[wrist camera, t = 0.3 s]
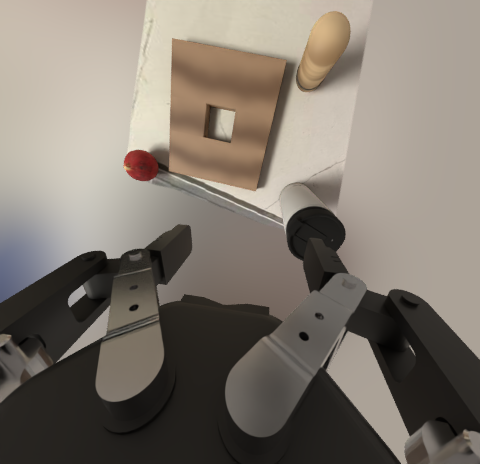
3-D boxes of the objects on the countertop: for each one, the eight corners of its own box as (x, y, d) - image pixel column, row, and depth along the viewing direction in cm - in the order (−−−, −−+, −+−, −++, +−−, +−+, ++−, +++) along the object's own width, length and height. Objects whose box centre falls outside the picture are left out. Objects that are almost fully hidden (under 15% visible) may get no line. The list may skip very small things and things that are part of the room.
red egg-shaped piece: (165, 152, 38) (140, 153, 31) (165, 180, 40) (142, 187, 33) (139, 147, 38) (108, 147, 31) (141, 175, 41) (113, 181, 33)
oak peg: (299, 60, 29) (316, 6, 18) (325, 65, 28) (358, 14, 18) (291, 92, 31) (302, 61, 20) (315, 97, 30) (340, 68, 19)
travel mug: (290, 175, 36) (310, 200, 18) (317, 193, 36) (363, 235, 18) (272, 201, 38) (273, 246, 20) (297, 217, 39) (320, 275, 21)
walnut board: (179, 46, 30) (172, 38, 28) (285, 67, 29) (286, 60, 27) (174, 169, 39) (168, 170, 37) (256, 188, 38) (255, 191, 36)
